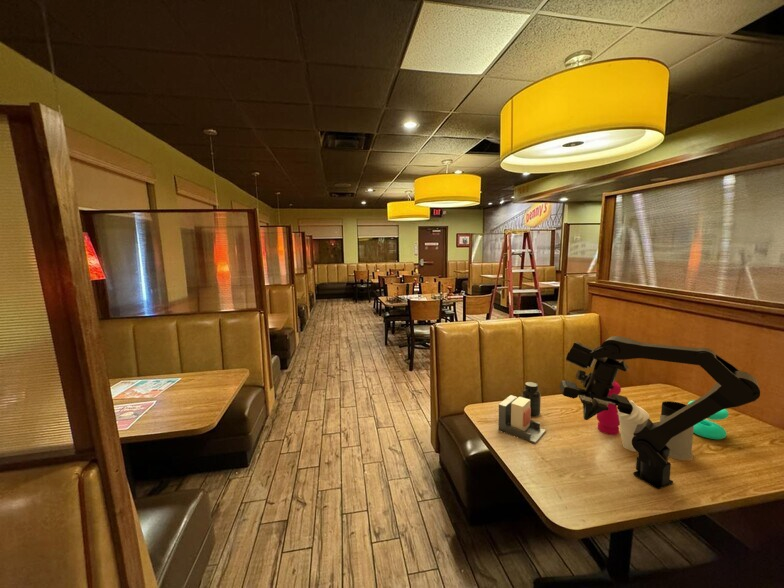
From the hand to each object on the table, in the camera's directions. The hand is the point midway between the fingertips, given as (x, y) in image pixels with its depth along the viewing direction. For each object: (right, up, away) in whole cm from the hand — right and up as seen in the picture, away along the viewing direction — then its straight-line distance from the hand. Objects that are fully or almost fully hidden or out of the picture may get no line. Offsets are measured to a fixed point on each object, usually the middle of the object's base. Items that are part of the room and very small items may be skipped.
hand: (585, 419), depth 99 cm
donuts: (+48, -9, +11) cm, 50 cm away
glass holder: (+31, -11, +2) cm, 33 cm away
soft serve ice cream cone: (+17, -11, +3) cm, 20 cm away
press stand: (-14, -10, +15) cm, 23 cm away
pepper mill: (+17, -10, +14) cm, 24 cm away
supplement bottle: (-5, -9, +28) cm, 29 cm away
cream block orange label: (-14, -9, +15) cm, 22 cm away
